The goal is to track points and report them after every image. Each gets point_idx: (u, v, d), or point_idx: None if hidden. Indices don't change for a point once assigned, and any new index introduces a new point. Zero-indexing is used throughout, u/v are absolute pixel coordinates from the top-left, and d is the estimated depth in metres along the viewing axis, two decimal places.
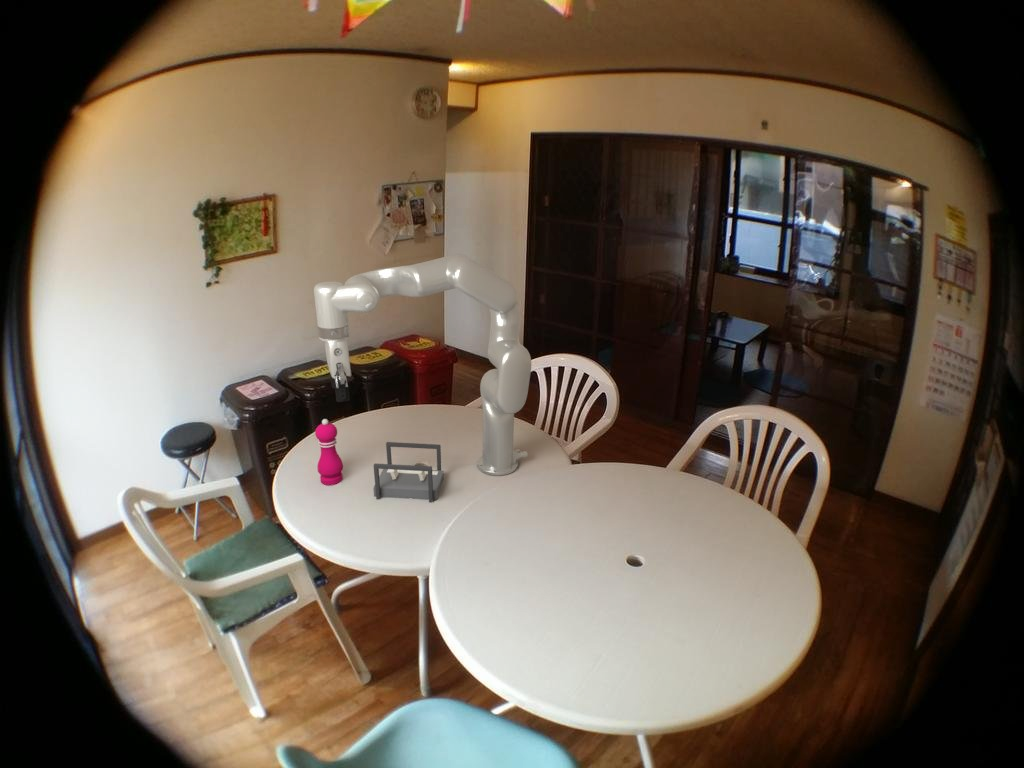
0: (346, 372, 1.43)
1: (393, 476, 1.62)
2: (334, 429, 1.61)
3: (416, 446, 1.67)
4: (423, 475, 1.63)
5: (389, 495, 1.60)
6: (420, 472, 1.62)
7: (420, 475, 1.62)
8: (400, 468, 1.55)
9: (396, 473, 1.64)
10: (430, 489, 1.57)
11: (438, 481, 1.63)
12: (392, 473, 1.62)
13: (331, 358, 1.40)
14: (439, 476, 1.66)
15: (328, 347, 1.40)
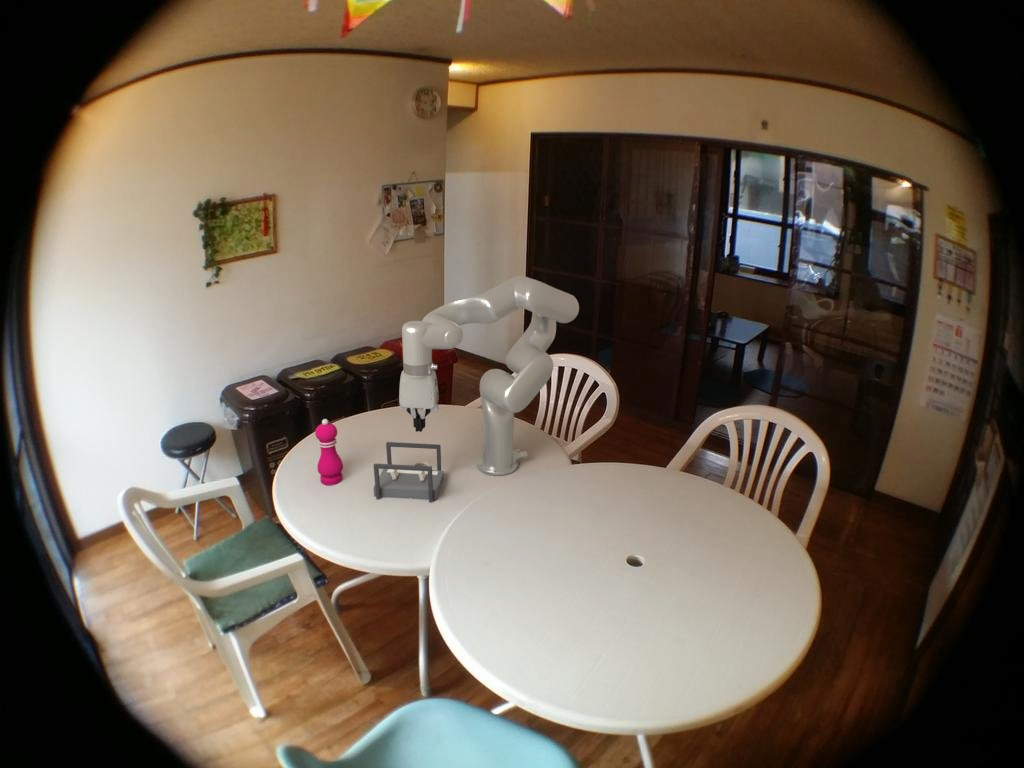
0: None
1: (393, 476, 1.62)
2: (334, 429, 1.61)
3: (416, 446, 1.67)
4: (423, 475, 1.63)
5: (389, 495, 1.60)
6: (420, 472, 1.62)
7: (420, 475, 1.62)
8: (400, 468, 1.55)
9: (396, 473, 1.64)
10: (430, 489, 1.57)
11: (438, 481, 1.63)
12: (392, 473, 1.62)
13: (434, 389, 1.51)
14: (439, 476, 1.66)
15: (430, 381, 1.50)
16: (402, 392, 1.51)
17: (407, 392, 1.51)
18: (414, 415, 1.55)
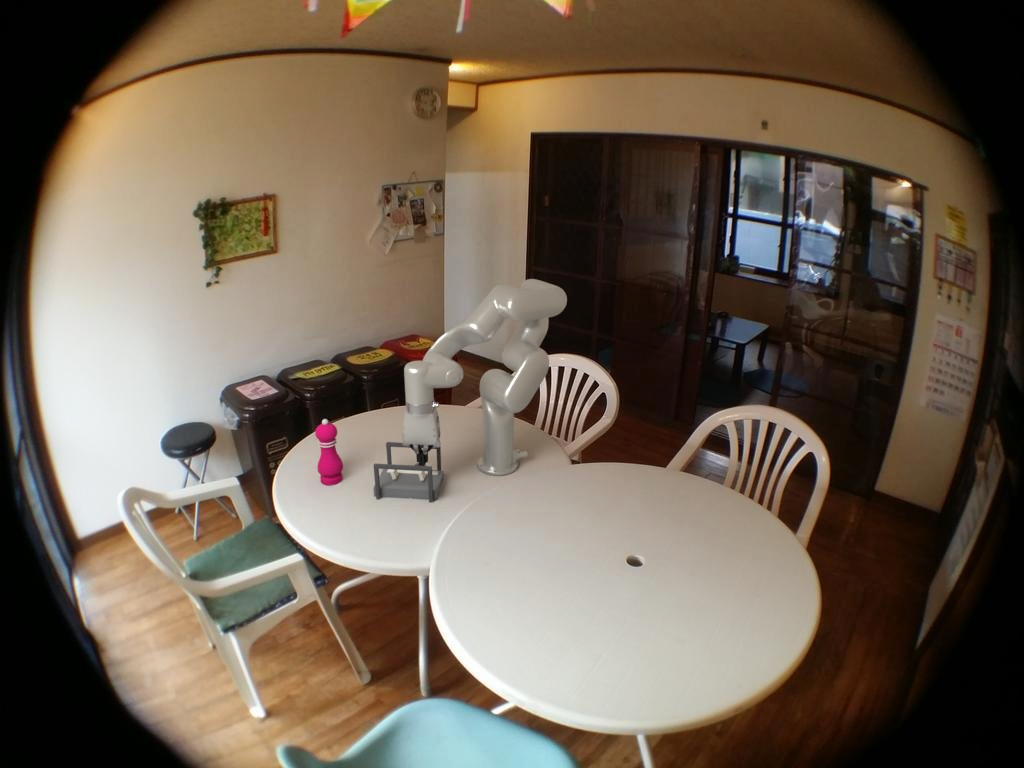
0: None
1: (393, 476, 1.62)
2: (334, 429, 1.61)
3: None
4: (423, 475, 1.63)
5: (389, 495, 1.60)
6: (420, 472, 1.62)
7: (420, 475, 1.62)
8: (400, 468, 1.55)
9: (396, 473, 1.64)
10: (430, 489, 1.57)
11: (438, 481, 1.63)
12: (392, 473, 1.62)
13: (436, 427, 1.55)
14: (439, 476, 1.66)
15: (432, 418, 1.54)
16: (405, 429, 1.56)
17: (410, 429, 1.55)
18: (417, 451, 1.59)
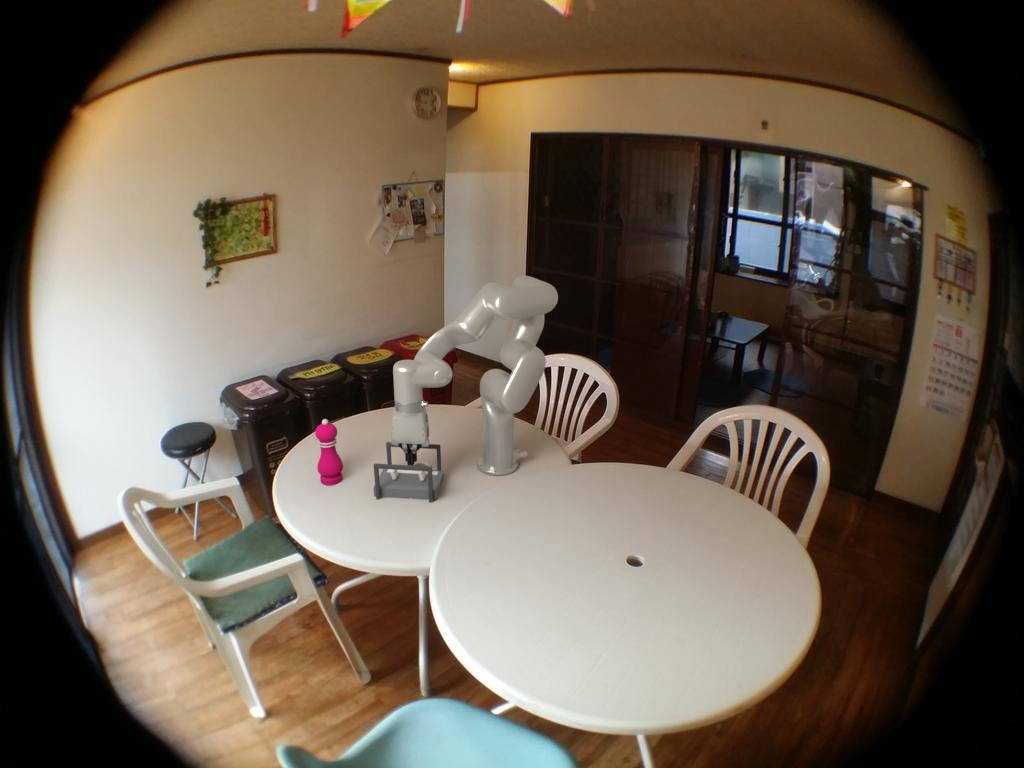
0: None
1: (393, 476, 1.62)
2: (334, 429, 1.61)
3: None
4: (423, 475, 1.63)
5: (389, 495, 1.60)
6: (420, 472, 1.62)
7: (420, 475, 1.62)
8: (400, 468, 1.55)
9: (396, 473, 1.64)
10: (430, 489, 1.57)
11: (438, 481, 1.63)
12: (392, 473, 1.62)
13: (425, 426, 1.55)
14: (439, 476, 1.66)
15: (420, 417, 1.54)
16: (394, 428, 1.56)
17: (399, 428, 1.55)
18: (406, 450, 1.59)
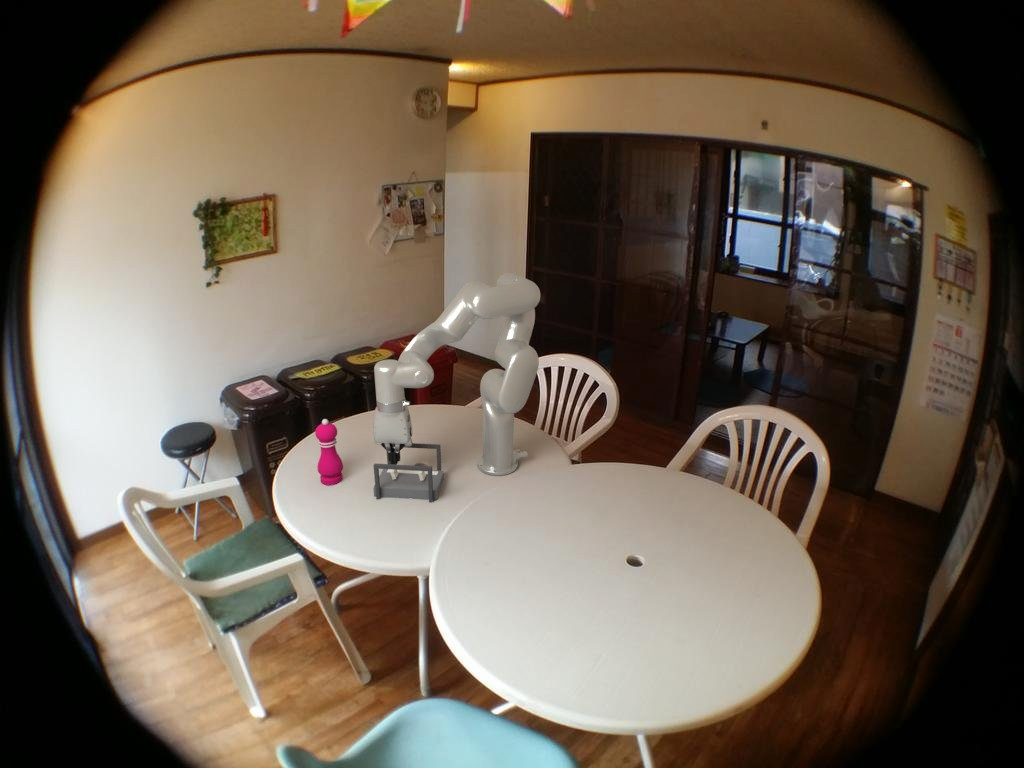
0: None
1: (393, 476, 1.62)
2: (334, 429, 1.61)
3: (416, 446, 1.67)
4: (423, 475, 1.63)
5: (389, 495, 1.60)
6: (420, 472, 1.62)
7: (420, 475, 1.62)
8: (400, 468, 1.55)
9: (396, 473, 1.64)
10: (430, 489, 1.57)
11: (438, 481, 1.63)
12: (392, 473, 1.62)
13: (407, 425, 1.56)
14: (439, 476, 1.66)
15: (402, 417, 1.54)
16: (376, 428, 1.56)
17: (381, 428, 1.56)
18: (389, 449, 1.59)
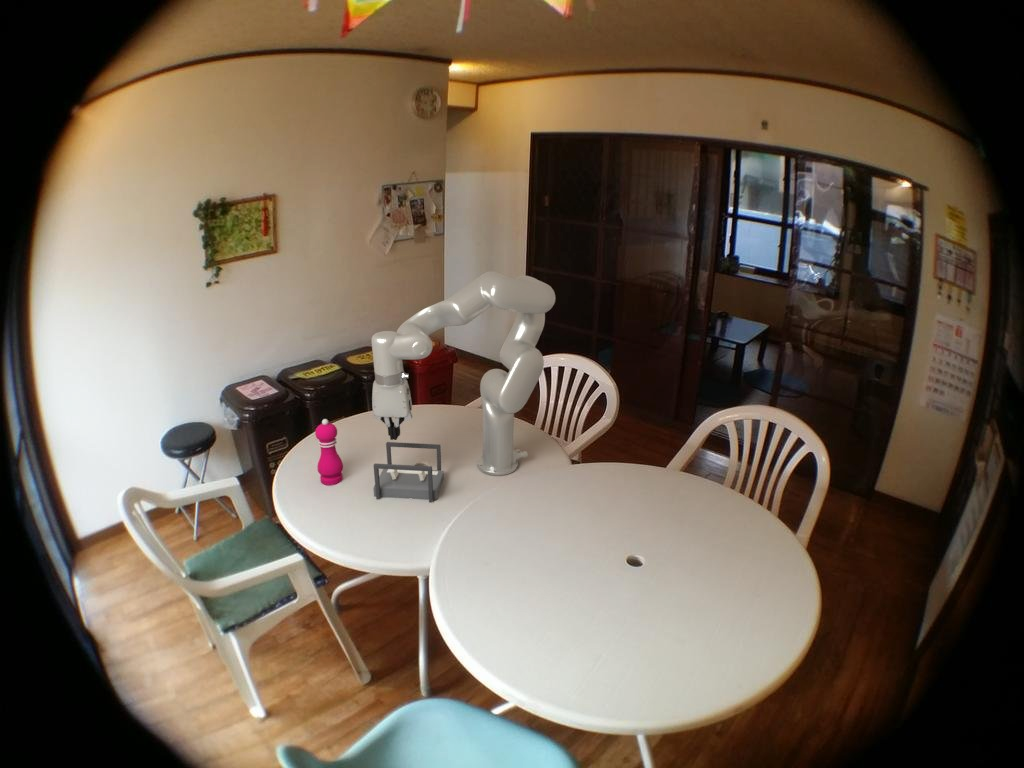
0: None
1: (393, 476, 1.62)
2: (334, 429, 1.61)
3: (416, 446, 1.67)
4: (423, 475, 1.63)
5: (389, 495, 1.60)
6: (420, 472, 1.62)
7: (420, 475, 1.62)
8: (400, 468, 1.55)
9: (396, 473, 1.64)
10: (430, 489, 1.57)
11: (438, 481, 1.63)
12: (392, 473, 1.62)
13: (406, 398, 1.53)
14: (439, 476, 1.66)
15: (401, 390, 1.51)
16: (375, 402, 1.53)
17: (380, 401, 1.53)
18: (388, 424, 1.57)
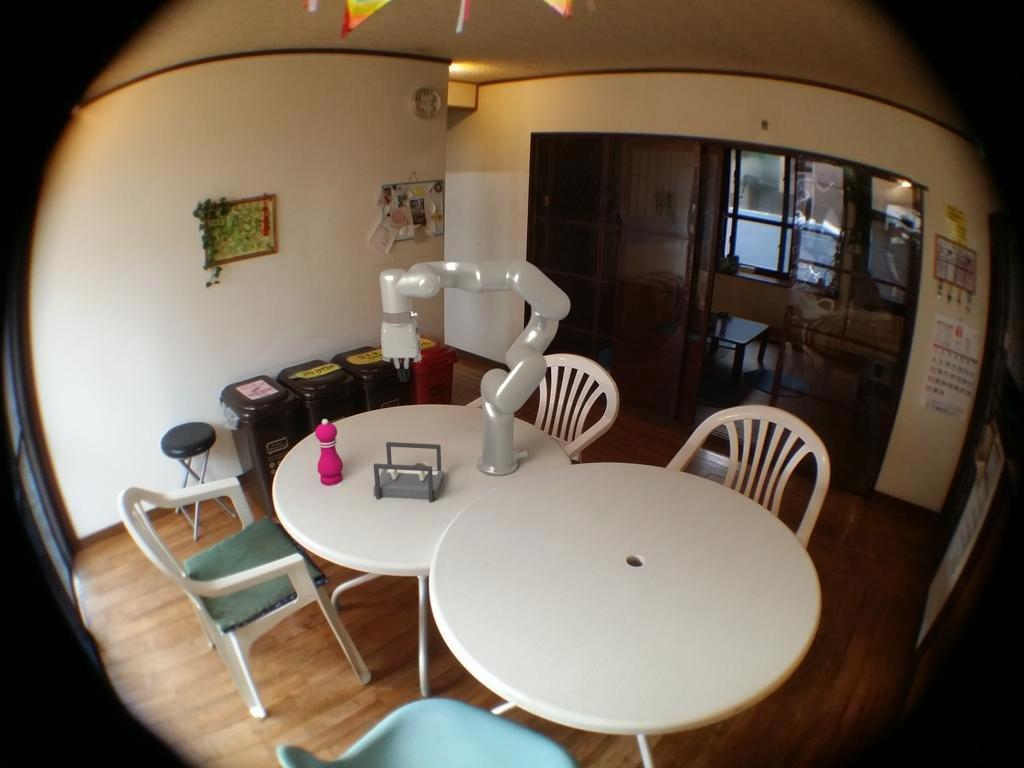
0: None
1: (393, 476, 1.62)
2: (334, 429, 1.61)
3: (416, 446, 1.67)
4: (423, 475, 1.63)
5: (389, 495, 1.60)
6: (420, 472, 1.62)
7: (420, 475, 1.62)
8: (400, 468, 1.55)
9: (396, 473, 1.64)
10: (430, 489, 1.57)
11: (438, 481, 1.63)
12: (392, 473, 1.62)
13: (415, 337, 1.51)
14: (439, 476, 1.66)
15: (411, 328, 1.50)
16: (384, 342, 1.52)
17: (389, 342, 1.51)
18: (398, 365, 1.55)
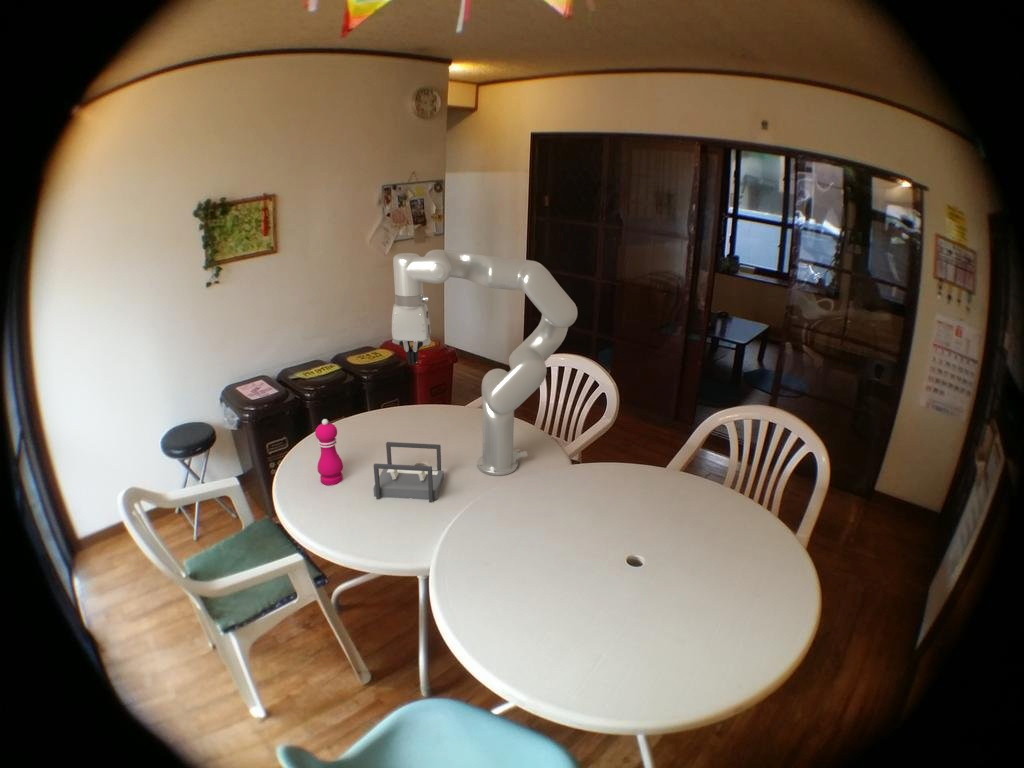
0: None
1: (393, 476, 1.62)
2: (334, 429, 1.61)
3: (416, 446, 1.67)
4: (423, 475, 1.63)
5: (389, 495, 1.60)
6: (420, 472, 1.62)
7: (420, 475, 1.62)
8: (400, 468, 1.55)
9: (396, 473, 1.64)
10: (430, 489, 1.57)
11: (438, 481, 1.63)
12: (392, 473, 1.62)
13: (425, 321, 1.54)
14: (439, 476, 1.66)
15: (421, 312, 1.53)
16: (394, 324, 1.55)
17: (399, 324, 1.54)
18: (407, 348, 1.58)
